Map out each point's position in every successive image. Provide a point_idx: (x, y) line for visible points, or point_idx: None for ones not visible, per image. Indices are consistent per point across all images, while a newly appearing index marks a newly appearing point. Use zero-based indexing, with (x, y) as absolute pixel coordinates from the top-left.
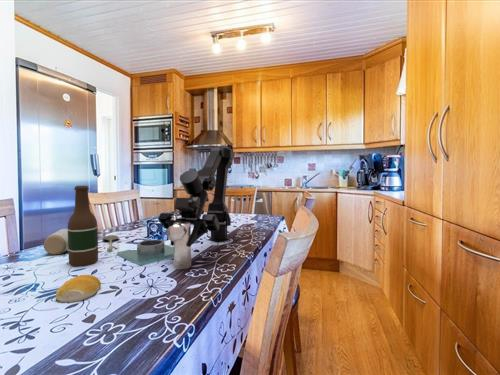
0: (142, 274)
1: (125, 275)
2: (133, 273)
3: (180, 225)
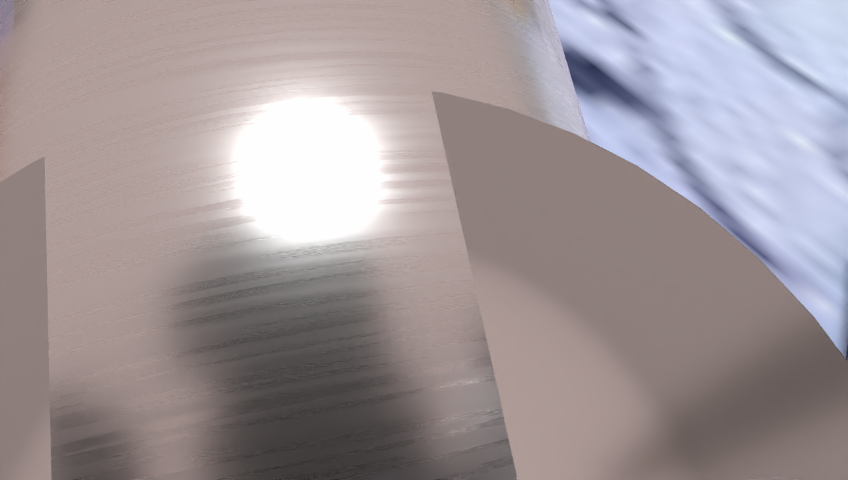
0: (615, 101)
1: (732, 27)
2: (713, 86)
3: (13, 57)
